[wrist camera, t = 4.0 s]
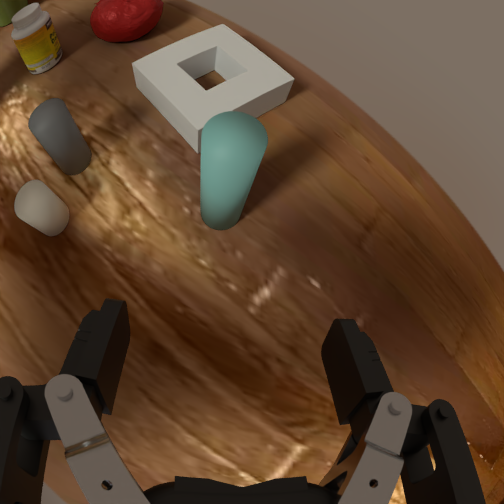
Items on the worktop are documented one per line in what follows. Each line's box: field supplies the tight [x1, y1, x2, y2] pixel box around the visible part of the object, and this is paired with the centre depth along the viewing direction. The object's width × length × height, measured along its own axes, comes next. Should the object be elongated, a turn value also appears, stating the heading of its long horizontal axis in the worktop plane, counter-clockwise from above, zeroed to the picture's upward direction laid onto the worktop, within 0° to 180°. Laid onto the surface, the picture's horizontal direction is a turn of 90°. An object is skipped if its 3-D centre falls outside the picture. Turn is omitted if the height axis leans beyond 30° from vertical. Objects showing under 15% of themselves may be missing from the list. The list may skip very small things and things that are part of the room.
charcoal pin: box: [28, 98, 91, 175], centre depth 22 cm, size 4×4×8 cm
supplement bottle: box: [12, 3, 62, 74], centre depth 23 cm, size 6×6×10 cm
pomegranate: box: [90, 0, 163, 42], centre depth 26 cm, size 10×10×9 cm
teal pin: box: [201, 111, 268, 230], centre depth 21 cm, size 4×4×12 cm
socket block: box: [132, 24, 294, 153], centre depth 28 cm, size 12×12×4 cm
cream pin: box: [14, 180, 69, 236], centre depth 22 cm, size 4×4×5 cm
